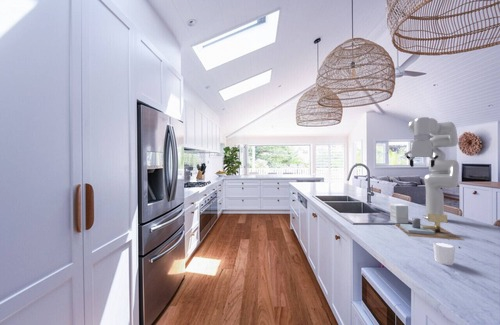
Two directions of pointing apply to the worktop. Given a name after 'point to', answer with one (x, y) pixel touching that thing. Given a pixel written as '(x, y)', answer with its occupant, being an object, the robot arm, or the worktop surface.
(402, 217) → the supplement box
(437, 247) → the shot glass
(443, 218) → the key
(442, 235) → the board
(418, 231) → the lid
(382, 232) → the worktop surface
